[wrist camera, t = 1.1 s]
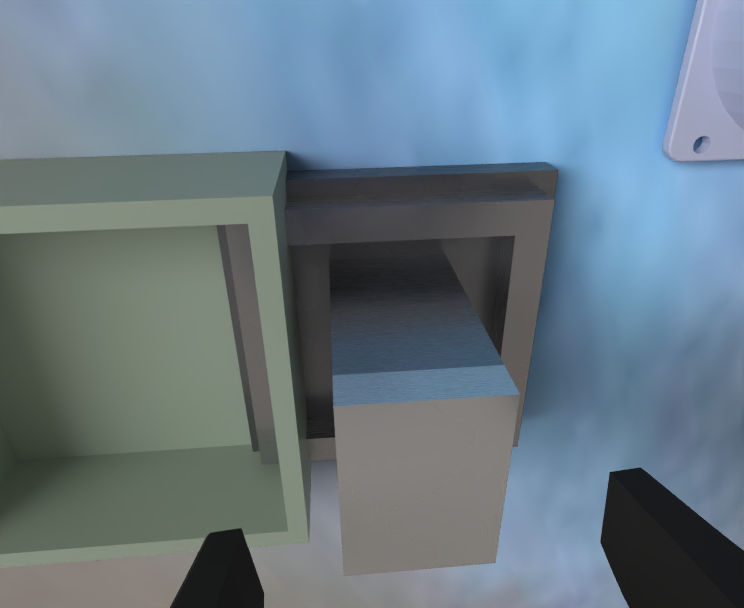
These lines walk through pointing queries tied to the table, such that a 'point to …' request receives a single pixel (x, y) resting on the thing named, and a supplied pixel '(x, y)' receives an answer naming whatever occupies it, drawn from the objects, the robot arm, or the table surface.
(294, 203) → the socket block
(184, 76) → the table surface
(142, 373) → the bin
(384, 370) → the grey plug block
